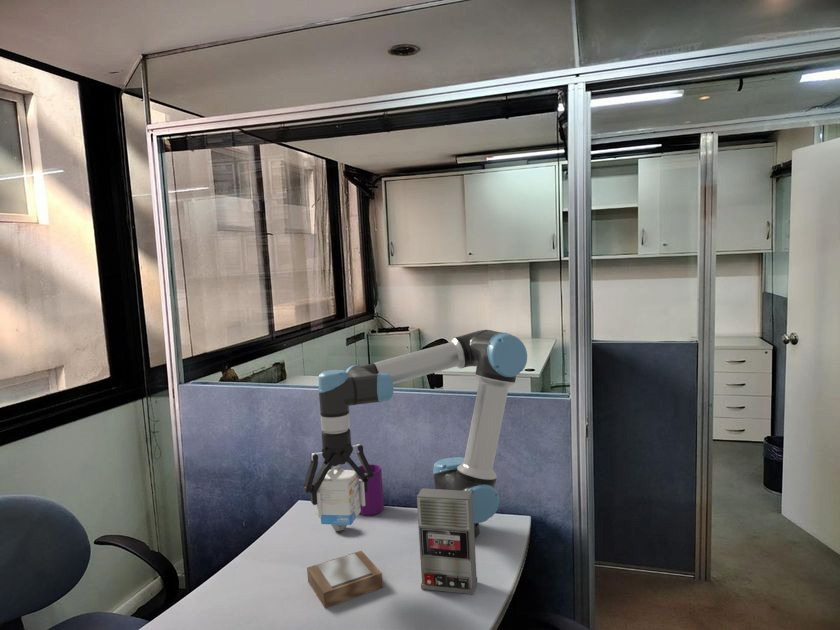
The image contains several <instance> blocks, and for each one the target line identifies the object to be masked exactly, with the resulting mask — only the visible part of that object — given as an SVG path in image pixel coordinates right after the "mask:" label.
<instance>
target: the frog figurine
mask: <svg viewBox="0 0 840 630" xmlns="http://www.w3.org/2000/svg"><path fill="white" fill-rule="evenodd" d="M330 526H331V527H332V528H333V530H334V531H337V532H343V531H344V530H345V529H346V527H347V526H348V525H336V524H330Z"/></svg>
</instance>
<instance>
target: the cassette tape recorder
mask: <svg viewBox="0 0 840 630" xmlns="http://www.w3.org/2000/svg"><path fill="white" fill-rule="evenodd" d="M416 506H417V507H416V508H417V525H418V526H417V527H418V537H419V539H418V540H419V541H418V542H419V557H420V558H419V559H420V569H421V570H420V571H421V572H420V573H421V574H420V575H421V584H420V589H421V590H425V591H426V590H429V591H438V592H439V591H440V592H449V593H458V594H466V595H467V594H468V595H475V590H476V588H477V584H478V576H477V561H476V558H477V557H476V542H475V541H476V539H475V538H476V537H475V536H474V517H473V497H472V491H460V490H442V489H435V488H421V489H420V491H419V492H418V494H417V495H416Z"/></svg>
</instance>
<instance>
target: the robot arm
mask: <svg viewBox="0 0 840 630" xmlns="http://www.w3.org/2000/svg"><path fill="white" fill-rule="evenodd" d="M527 362H528V351H527V348H526V346H525V344H524V342H523V341H522V340H521V339H520V338H519V337H517V336H515V335H513V334H512V333H508V332H500V331H497V330H496V331H495V330H491V329H482V330H477V331H473V332H470V333H466V334H463V335H459V336H456V337H455V336H454V337H453V338H451V339H450V341H449V342H447V343H442V344H440V345H435V346H431V347H428V348H424V349H420V350H416V351H413V352H409V353H405V354H402V355H398V356H395V357H391V358H387V359H383V360H379V361H377V362H372V363H369V364H364V365H360V364H359V365H358V364H354V365H351V366H349V367H348V368H346V370H343V369H329V370H324V371H322V372H321V373H320V374H318V388H317V389H318V400H319V413H320V427H321V428H320V429H321V430H322V431H321V445H322V449H321V452H315V451H312V452H311V453H310V462H309V466H308V469H307V472H306V475H305V479H304V483H303V486H302V489H303V491H305V492H306V493H307V494H308V493H310V502H311V503H312V505H313V506H314V508H315V509H314V512H315V515H316V516H317V517H318V519H319V518H320V519H321V517H322V515H321V499H320V492H319V487H320V485H321V484H322V482H323V480H324V478H325V476H326V474H327V473H328V471H329V470H332V467H335V466H337V465H340V466H341V465H345V464H346V463H347V464H348V466H350V468H351V469H352V470H354V471H355V472H356V473H357V474H358V476H359V477H360V478H361V479H359V493H360V504H361V505H362V506H365V492H367V490H368V488H367V482H368V481H369V478H370V477H371V478H372V477H373V476H374V474H373V472H372V470H371V468H370V466H369V462H368V460H367V457H366V455H365V453H364V446H363V444H361V443H359V442H357V443H355V444H353V445H352V435H351V432H352V431H351V429H350V427H351V419H350V407H351V406H359V405H365V404H375V403H382V402H386V401H390V400H391V399H392V398H393V397H394V385H396V384H398V383H402V382H405V381H410V380H413V379H416V378H419V377H424V376H427V375H431V374H434V373H438V372H441V371H444V370H448V369H452V368H455V367H456V368H458V369H465V368H468V367H469V368H470V367H476V368H475V377H476V379H477V380H478V386H477V390H476V397H475V402H474V406H473V412H472V418H471V423H470V427H469V433H468V439H467V442H466V447H465V453H464V457H462V456H459V457H458V456H454V457H446V458H441V459H439V460H437V461H435V463H434V464H433V472H432V474H433V486H434V488H433V489H442V490H460V491H472V497H473V517H474V536H475V538H477V536H479V535H480V530H481V529H480V524H481V523H484V522H486V521H488V520H489V519H490V518H492V517H494V515H495V514H496V513H497V510H498V509H499V505H500V496H499V493H498V491H497V489H495V488H496V482H497V478H498V476H497V474H496V472H495V470H494V465H495V459H496V456H497V455H496V454H497V449H498V446H499V445H498V444H499V439H500V434H501V428H502V424H503V419H504V413H505V408H506V403H507V399H508V398H507V397H508V393H509V388H510V387H511V386H512V387H513V385H515V384H516V380H517V376H519V374H521V372H523V371H524V369H525V367H526V365H527ZM353 452H354V453H355V454H356V455H357V458H358V459H359V461H360V464H361V466H363V468H364V470H365V472H366V473H365V474H364V473H363V472H362V471H361V470H360V469H359V468H358V467H359V466H358V465H357V464H356V463H355V461H354V460H353V459H352V458H351V455H352V453H353ZM321 458H323V459H324V460H323V462H322V464H321V466H320V468H319V470H318V472H317V469H318V464H319V462H321ZM316 472H317V473H316Z"/></svg>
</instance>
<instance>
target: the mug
mask: <svg viewBox="0 0 840 630" xmlns="http://www.w3.org/2000/svg"><path fill="white" fill-rule="evenodd" d="M368 464H369V463H368ZM369 466H370V468H371V470H372V472H373V474H374V476H373V477H372V478H371V477H370V478H369V481H368V482H367V488H368V490H367V492H365V506H362V505H361V504H360V508H361V512H360V513H359V514H358V515H363V516H366V517H368V516H370V517H371V516H375V515H378V514H381V513H382V512H383V511H384V510H385V509H384V508H385V503H384V493H383V492H384V491H383V490H384V488H383V487H384V486H383V476H382V475H383V473H382V467H381V466H380V465H377V464H373V463H372V464H371V463H370V464H369ZM358 468H359V469H360V470H361V471H362V472H363V473H364V474H365V473H366V472H365V470H364V468H363V466H362V465H360V466H358ZM358 477H359V476H358ZM359 479H361V478H360V477H359Z"/></svg>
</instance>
